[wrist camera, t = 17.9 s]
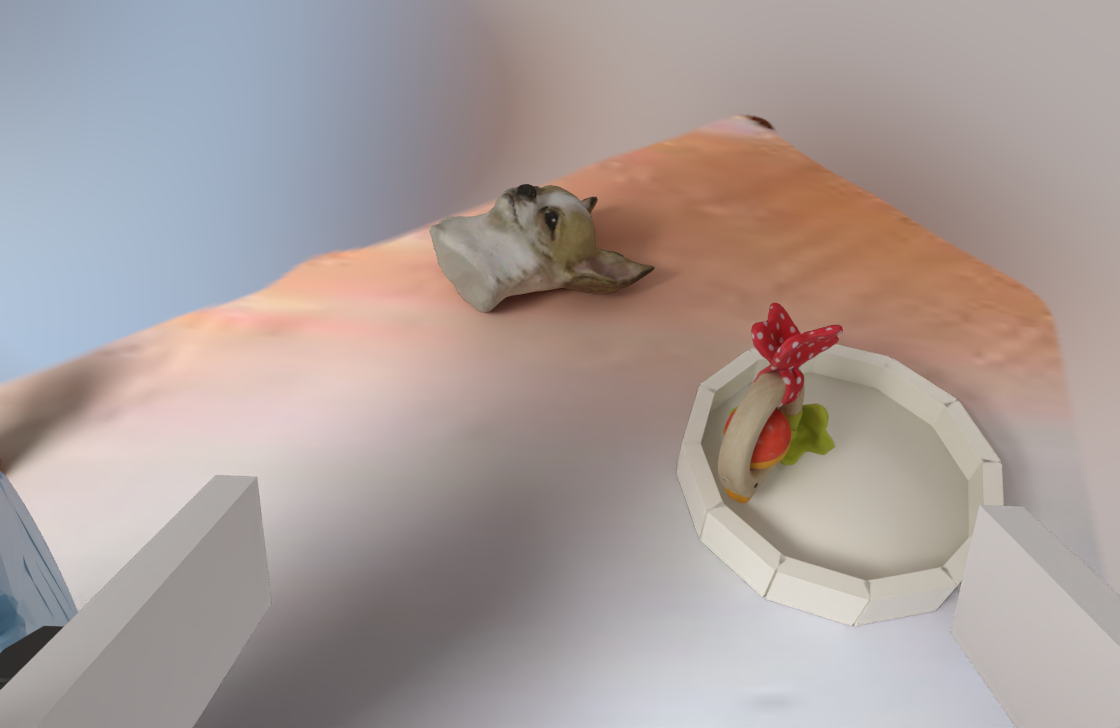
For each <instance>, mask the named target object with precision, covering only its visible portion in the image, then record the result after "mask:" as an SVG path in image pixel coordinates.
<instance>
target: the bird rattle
mask: <svg viewBox="0 0 1120 728" xmlns="http://www.w3.org/2000/svg"><path fill="white" fill-rule="evenodd" d="M842 332H843V329H842V326H840V325H831V326H827V327H823V328H819V329H816V330H813V331H808V332H805V333H803V334H800V332H799V330H798V328H797V327H796V326H795V324H794V323H793V321H792V320H791V318H790V316H789V315H788V313H787V312H786V311H785V309H784V308H783V307H782V306H781V305H780V304H778V303H772V304H771V305H770V309H769V314H768V320H767V321H765V322H758V323H755V324H754V325H753V326H752V329H751V334H752V339H753V344H754V346H755V348H756V349H757V351H758V352H759V353H760V354H761V356H763V357H764V358H765V359H767V360H768V361H769V363H770V365H769V366H768V367H766V368H764V369H763V370H761V371H760V372H759V373H758V374H757V376H756V378H755V380H754V383H753V385H752V387H751V388H750V389H749V390H748V392H747V393H746V395H745V396H744V398H743V399H742V401H741V403H740V404H739V405H738V406H737V407H735V408H734V409H732V410H731V411H730V414H729V418H728V420H727V421H726V424H725V426H724V428H723V435H724V439H723V442H722V445H721V449H720V453H719V459H718V474H719V478H720V480H721V482H722V484H723V485H724V486H725V490H726V493H727V495H728V496H729V497H730V498H731V499H733V500H734V501H736V502H739V503H747V502H748V501H749V500H750V499H751V498H752V496H753V495H754V493H755V491H756V490H757V488H758V487H759V486H760V485H761V484H762V483H763V482H764V481H765V479H766V478H767V477H768V476H769V474H770V473H771V472H772V470H773V469H774V467H775V466H776V464H777V463H779V462H780V463H781V464H782V465H794V464H795V463H796V462H797V461H798V460H799V459H800V457H801V456H802V455H803V454H804V453H805V452H812V453H816V454H819V455H826V454H827V453H828V452H829V451H831V450H832V449H833V448H835V444H834V441H833V439H832V438H831V437H830V436H829V434H828V432H827V431H826V428H827V425H828V419H829V415H828V412H827V410H826V409H825V407H823V406H822V405H820V404H817V403H816V404H805V405H803V401H804V390H805V388H804V375H803V373H802V372H801V371H800V370H799V367H800V366H801V365H803V364H804V363H805V362H807V361H808V360H810V359H812V358H814V357H815V356H817V355H818V354H819V353H821V352H823V351H826V350H827V349H829V348H830V347H832V346H833V345H835V344H836V343H837V342H838V340H839V338H838V337H837V335H839V334H841V333H842Z"/></svg>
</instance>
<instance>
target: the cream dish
mask: <svg viewBox="0 0 1120 728" xmlns="http://www.w3.org/2000/svg"><path fill="white" fill-rule="evenodd" d="M769 365H770V363H769V361H768V360H767V359H765V358H764V357H763V356H761V354H760V353H759V352H758V351H757V349H756V348H752V349H750V350H747V351H745V352H744V353H743V354H741V355H740V356H738V357H737V358H736V359H734V360H733V361H731V362H730V363H729V364H727V365H726V366H725V367H723V368H722V369H720V370H719V371H718V372H716V373H715V374H713V375H712V376H711V377H709V378H708V379H707V380H705V381H704V382H702V383H701V384H700V386H699V388H698V391H697V395H696V398H695V401H694V404H693V408H692V411H691V414H690V417H689V421H688V424H687V427H686V431H685V434H684V437H683V440H682V445H681V450H680V455H679V460H678V466H677V476H678V479H679V482H680V485H681V488H682V491H683V494H684V496H685V499H686V502H687V505H688V508H689V511H690V514H691V517H692V520H693V523H694V526H695V528H696V531H697V534H698V537H699V538H701V540H700V541H702V542H703V543H704V544H705V545H706V546H707V547H708V548H709V549H710V550H711V551H712V552H714V553H715V554H716V555H717V556H718V557H719V558H720V559H721V560H722V561H723V562H724V563H726V564H727V565H728V566H729V567H730V568H731V569H732V570H733V571H734V572H735V573H736V574H738V575H739V576H740V577H741V578H742V579H743V580H744V581H745V582H746V583H747V584H748V585H750V586H751V587H752V588H753V589H754V590H755V591H756V592H757V593H758V594H759V595H760V596H762V597H764V596H765V595H766V598H765V599H767V600H770V601H773V602H776V603H779V604H783V605H786V606H789V607H792V608H795V609H799V610H802V611H805V612H808V613H811V614H814V615H818V616H821V617H824V618H827V619H830V620H833V621H837V622H840V623H843V624H846V625H849V626H852V625H853V624H854V626H860V625H865V624H870V623H876V622H881V621H886V620H891V619H897V618H902V617H907V616H913V615H918V614H923V613H928V612H934V611H935V610H937V609H938V608H939V607H940V605H941V604H942V603H943V602H944V601H945V600H946V599H947V597H948V596H949V595H950V594H951V593H952V592H953V591H954V589H955V588H956V587H957V586H958V585H959V584H960V583H961V581H962V579H963V574H964V570H965V566H966V561H967V557H968V553H969V549H970V544H971V540H972V536H973V531H974V527H975V523H976V518H977V514H978V510H979V505H998V506H1004V501H1003V478H1002V463H1000V462H1001V460H1000V459H999V457H998V456H997V455H996V453H995V452H994V450H993V449H992V447H991V446H990V445H989V443H988V442H987V440H986V439H985V437H984V436H983V435H982V433H981V432H980V430H979V429H978V427H977V426H976V425H975V423H974V422H973V420H972V419H971V417H970V416H969V414H968V413H967V412H966V410H965V409H964V407H963V406H962V404H961V403H960V402H959V401H956V400H957V399H956V398H955V397H953V396H952V395H950V394H948V393H947V392H945V391H944V390H942V389H941V388H939V387H937V386H936V385H934V384H933V383H931V382H930V381H928V380H927V379H925V378H923V377H922V376H920V375H919V374H917V373H916V372H914V371H912V370H911V369H909V368H908V367H906V366H905V365H903V364H901V363H900V362H898V361H897V360H895V359H894V358H891V359H890V357H889V356H885V355H881V354H876V353H872V352H868V351H864V350H859V349H855V348H851V347H847V346H842V345H838V344H835V345H833V346H832V347H830V348H829V349H827V350H826V351H823V352H821V353H819V354H818V355H817V356H815V357H814V358H812V359H810V360H808V361H807V362H805V363H804V364H803V365H801V366H800V367H799V370H800V371H801V372H802V373H803V375H804V388H805V390H804V401H803V405H805V404H816V403H817V404H820V405H822V406H823V407H825V409H826V410H827V412H828V415H829V419H828V425H827V428H826V431H827V432H828V434H829V436H830V437H831V438H832V439H833V441H834V444H835V448H833V449H832V450H831V451H829V452H828V453H827V454H826V455H819V454H816V453H812V452H805V453H804V454H803V455H802V456H801V457H800V459H799V460H798V461H797V462H796V463H795V464H794V465H782V464H781V463H780V462H779V463H777V464H776V466H775V467H774V469H773V470H772V472H771V473H770V474H769V476H768V477H767V478H766V479H765V481H764V482H763V483H762V484H761V485H760V486H759V487H758V488H757V490H756V491H755V493H754V495H753V496H752V498H751V499H750V500H749V501H748V502H747V503H739V502H736V501H734V500H733V499H731V498H730V497H729V496H728V495H727V493H726V490H725V486H724V485H723V484H722V482H721V480H720V478H719V474H718V459H719V453H720V449H721V445H722V442H723V439H724V435H723V428H724V426H725V424H726V421H727V420H728V418H729V414H730V411H731V410H732V409H734V408H735V407H737V406H738V405H739V404H740V403H741V401H742V399H743V398H744V396H745V395H746V393H747V392H748V390H749V389H750V388H751V387H752V385H753V383H754V380H755V378H756V376H757V374H758V373H759V372H760V371H761V370H763V369H764V368H766V367H768V366H769Z"/></svg>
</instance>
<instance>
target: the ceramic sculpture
mask: <svg viewBox="0 0 1120 728" xmlns="http://www.w3.org/2000/svg"><path fill="white" fill-rule="evenodd" d="M597 200H598V199H597V197H590V198H587V199H585V200H583V201H580V200H579V199H578V198H577V197H576V196H574V195H573V194H571V193H570V192H568V191H566V190H564V189H562V188H561V187H558V186H552V185H549V186H545V187H542V188H539V187H537V186H534V187H533V186H532V185H529V184H524V185H520V186H519V187H515V188H510V189H508V190H506V191H504V192H503V194H502V196H501V197H500V198H498V199H497V201H496V203H495V206H494V207H493V209H492V210H490V211H489V212H488V213H486V214H483V215H479V216H473V217H462V216H459V217H447V218H445V219H443V220H442V221H441V222H440V223H439V224H437V225H433V226H431V228H430V234H431V237H432V242H433V246H434V250H435V252H436V256H437V260H438V264H439V266H440V267H441V269H442V272H443V273H444V275H445V276H446V277H447V278H448V279H449V281H450V282H451V283H452V284H453V285H454V286H455V288H456V290H457V292H458V294H459V295H460V296H461V297H462V299H464V300H465V301H466V302H468V303H469V304H471V305H472V306H473V307H474V308H475V309H476V310H478V311H480V312H482V313H486V312H489V311H491V310H492V309H493V308H494V307H495V306H497V305H498V304H499V303H500V302H501V301H502V300H503V299H504V298H506V297H508V296H512V295H519V294H525V293H530V292H536V291H546V290H552V289H558V288H566V289H569V290H576V291H583V292H589V293H597V294H605V293H611V292H614V291H617V290H619V289H621V288H624V287H627V286H629V285H631V284H633V283H635V282H636V281H638V280H639V279H641V278H643V277H644V276H646V275H647V274H648V273H650V272H651V271H653V270H654V267H653V266H648V265H641V264H638V263H635V262H632V261H630V260H629V259H627V258H625V257H624V256H623V255H621V254H619V253H616V252H611V251H604V250H602V249H597V248H596V247H595V229H594V224H593V221H592V217H591V215H590V214H591V211H592V210H593V208H594V206H595V205H596V203H597Z"/></svg>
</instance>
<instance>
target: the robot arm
mask: <svg viewBox="0 0 1120 728" xmlns="http://www.w3.org/2000/svg"><path fill="white" fill-rule="evenodd" d="M271 604H272V602H271V593H270V584H269V576H268V567H267V558H266V550H265V541H264V533H263V524H262V515H261V507H260V498H259V489H258V481H257V477H250V476H224V475H216V476H215V477H213V478H212V479H211V480H210V481H209V482H208V483H207V484H206V485H205V486H204V487H203V488H202V489H201V490H200V491H199V492H198V493H197V494H196V495H195V496H194V497H193V498H192V499H191V500H190V501H189V502H188V503H187V504H186V505H185V506H184V507H183V508H182V509H181V510H180V511H179V512H178V513H177V514H176V515H175V516H174V517H173V518H172V519H171V520H170V521H169V522H168V523H167V524H166V525H165V526H164V527H163V528H162V529H161V530H160V531H159V532H158V533H157V534H156V535H155V536H154V537H153V538H152V539H151V540H150V541H149V542H148V543H147V544H146V545H145V546H144V547H143V548H142V549H141V550H140V551H139V552H138V553H137V554H136V555H135V556H134V557H133V558H132V559H131V560H130V561H129V562H128V563H127V564H126V565H125V566H124V567H123V568H122V569H121V570H120V571H119V572H118V573H117V574H116V575H115V576H114V577H113V578H112V579H111V580H110V581H109V582H108V583H107V584H106V585H105V586H104V587H103V588H102V589H101V590H100V591H99V592H98V593H97V594H96V595H95V596H94V597H93V598H92V599H91V600H90V601H89V602H88V603H87V604H86V605H85V606H84V607H83V608H82V609H81V610H80V611H79V612H78V611H77V608H76V606H75V604H74V601H73V599H72V597H71V594H70V592H69V590H68V587H67V585H66V583H65V581H64V579H63V577H62V574H61V572H60V570H59V568H58V566H57V564H56V562H55V560H54V558H53V556H52V554H51V552H50V550H49V548H48V546H47V544H46V542H45V540H44V538H43V536H42V535H41V533H40V531H39V529H38V527H37V525H36V523H35V522H34V520H33V518H32V516H31V515H30V513H29V511H28V509H27V508H26V506H25V504H24V503H23V501H22V500H21V498H20V496H19V495H18V493H17V492H16V490H15V489H14V487H13V486H12V484H11V483H10V482H9V480H8V479H7V478H6V476H5V475H4V474H3V473H2V472H1V471H0V728H193V727H194V725H195V724H196V722H197V721H198V719H199V718H200V716H201V714H202V713H203V711H204V710H205V708H206V706H207V705H208V703H209V702H210V700H211V699H212V697H213V695H214V694H215V692H216V691H217V689H218V687H219V686H220V684H221V683H222V681H223V680H224V678H225V676H226V675H227V673H228V672H229V670H230V668H231V667H232V665H233V664H234V662H235V661H236V659H237V657H238V656H239V654H240V653H241V651H242V649H243V648H244V646H245V645H246V643H247V642H248V640H249V638H250V637H251V635H252V634H253V632H254V630H255V629H256V627H257V626H258V624H259V623H260V621H261V619H262V618H263V616H264V615H265V613H266V612H267V610H268V608H269V607H270V605H271ZM950 633H951V634H952V636H953V637H954V639H955V640H956V641H957V643H958V644H959V646H960V647H961V649H962V650H963V652H964V653H965V655H966V656H967V657H968V659H969V660H970V662H971V663H972V665H973V666H974V668H975V669H976V670H977V672H978V673H979V675H980V676H981V678H982V679H983V681H984V682H985V683H986V685H987V686H988V688H989V689H990V691H991V692H992V694H993V695H994V696H995V698H996V699H997V701H998V702H999V704H1000V705H1001V707H1002V708H1003V710H1004V711H1005V712H1006V714H1007V715H1008V717H1009V718H1010V720H1011V721H1012V723H1013V724H1014V725H1015V727H1016V728H1120V595H1118V593H1116V592H1115V591H1114V590H1113V589H1112V588H1111V587H1110V586H1109V585H1108V584H1107V583H1106V582H1104V581H1103V580H1102V579H1101V578H1100V577H1099V576H1098V575H1097V574H1096V573H1095V572H1094V571H1093V570H1091V569H1090V568H1089V567H1088V566H1087V565H1086V564H1085V563H1084V562H1083V561H1082V560H1081V559H1079V558H1078V557H1077V556H1076V555H1075V554H1074V553H1073V552H1072V551H1071V550H1070V549H1069V548H1067V547H1066V546H1065V545H1064V544H1063V543H1062V542H1061V541H1060V540H1059V539H1058V538H1057V537H1055V536H1054V535H1053V534H1052V533H1051V532H1050V531H1049V530H1048V529H1047V528H1046V527H1045V526H1044V525H1042V524H1041V523H1040V522H1039V521H1038V520H1037V519H1036V518H1035V517H1034V516H1033V515H1032V514H1030V513H1029V512H1028V511H1027V510H1026V509H1025V508H1024V507H1023V506H998V505H979V510H978V514H977V518H976V523H975V527H974V531H973V536H972V540H971V544H970V549H969V553H968V557H967V561H966V566H965V570H964V574H963V579H962V583H961V587H960V592H959V596H958V600H957V605H956V609H955V613H954V618H953V622H952V626H951V630H950Z"/></svg>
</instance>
